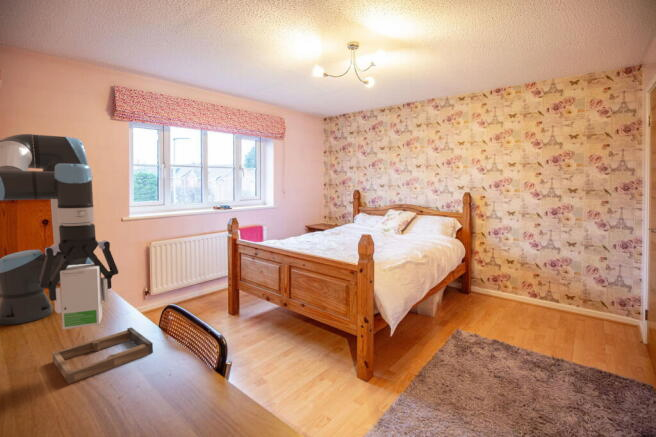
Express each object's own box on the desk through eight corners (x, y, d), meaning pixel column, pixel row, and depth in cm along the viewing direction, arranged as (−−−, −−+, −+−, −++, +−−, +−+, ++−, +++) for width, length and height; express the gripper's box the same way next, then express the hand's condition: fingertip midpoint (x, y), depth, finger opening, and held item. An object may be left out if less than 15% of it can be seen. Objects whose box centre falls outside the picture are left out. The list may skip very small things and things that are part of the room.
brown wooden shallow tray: (52, 361, 92) (52, 351, 92) (131, 336, 107) (131, 327, 107) (68, 384, 82) (67, 372, 82) (152, 352, 98) (152, 342, 97)
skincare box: (61, 330, 85) (56, 271, 84) (67, 320, 91) (63, 265, 89) (101, 324, 89) (97, 267, 87) (104, 315, 95) (100, 262, 93)
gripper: (22, 229, 76) (30, 323, 79) (129, 221, 93) (133, 298, 96) (16, 226, 81) (24, 314, 83) (119, 218, 98) (123, 292, 101)
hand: (82, 306), depth 90 cm, fingers closed on skincare box, 10 cm apart
